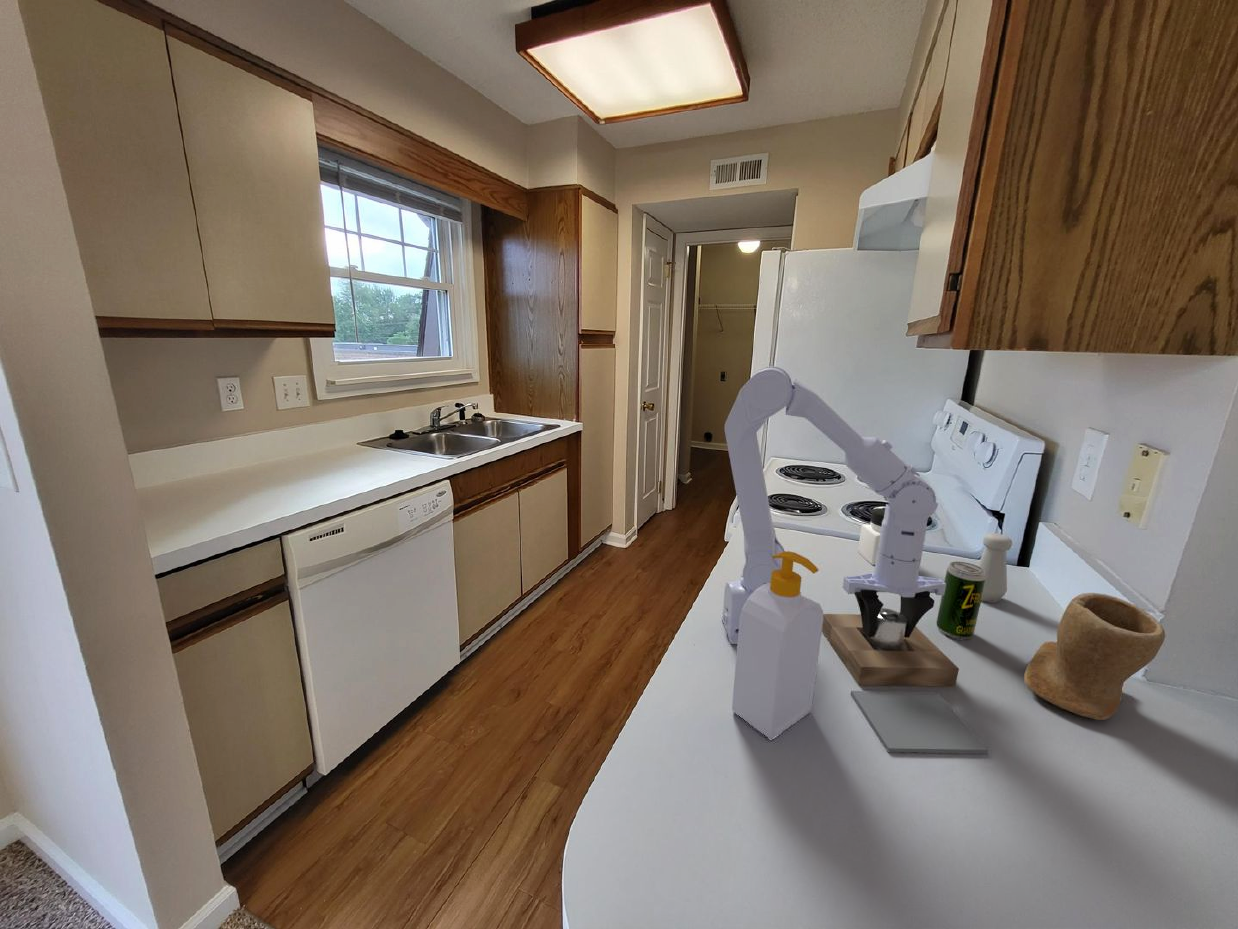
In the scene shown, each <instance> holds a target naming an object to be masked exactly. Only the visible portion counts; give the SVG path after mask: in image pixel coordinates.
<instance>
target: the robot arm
mask: <svg viewBox="0 0 1238 929" xmlns="http://www.w3.org/2000/svg"><path fill="white" fill-rule="evenodd" d="M792 382H793V383H792ZM784 408H785V415H786V416H791V417H798V418H804V419H805V420H807V421H808V422H809V423H811V425H813V426H814V427H815V428H816V429H818V430H819V431H820V432H821V433H822V434H824V436H826V438H828V439H829V440H830V441H831V442H833V443H834V444H835V445H836V446H837V447H838V448H840V450H842V451H843V452H844V465H845V467H847V468H848V469H849V470H850V471H851V472H853V474H854V475H856V476H857V477H858V478H859V479H860V480H862V482H863V483H865V484H866V486H867V487H869V488H870V489H871V490H872V491H873V492H875V494H877V495H878V496H882V497H883V499H884V501H886V502H887V503H886V504H885V507H886V508H885V514H884V519H883V521H882V527H881V533H880V539H879V546H878V552H877V558H876V564H875V565H874V571H873V572H869V573H862V574H857V575H852V576H849V575H848V576H846V575H845V576H844V577H843V582H842V588H843V590H844V592H846V593H847V594H848V595H854V596H855V599H856V601H857V604H858V607H859V608H858V609H859V612H860V615H861V618H862V628H863V631H864V632H865V634H866V635H867V636H868V637H873V636H874V633H875V628H876V622H877V618H878V615H879V613H880V610H881V608H884V605H885V604H884V603H883V602H882V601H881V600H880V599H879V594H878V593H890V594H895V595H898V596H900V606H899V607H900V610H899V613H901V614H902V615H904V616H905V617H906V619H907V624H906V630H905V635H904V637H905V638H909V637H910V635H911V633H912V631H913V629H914V628H915V626H916V627H917V625H918V623H919V621H920V620H921V618H923V616H924V615H925V614H927V612H928V611H930V610H931V609H933V608H934V605H935V600H934V599H933V598H932V597H931V594H935V595H936V596H942V595H944V593H945V588H946V583H944V582H945V581H943V580H942V579H940V578H939V577H931V576H930V577H929V576H928V577H927V576H921V575H919V573H920V567H921V561H922V555H923V550H924V546H925V545H924V544H925V541H926V535H927V524H928V519H929V518H930V517H931V516H933V515H934V513H936V511H937V509H938V506H939V503H938V502H937V496H936V493H935V490H934V489H933V488H932V487H931V485H929V484H928V482H927V481H926V480H925V479H924V478H923V477H921V475H920V473H919V472H918V469H917V468H916V467H915V466H914V465H912V464H909V465H907V463H906V462H904V461H903V460H902V459H901V458H900V457H899V456H898V455H897V454H896V453H895V452H893V451H892V449H893V445H892V444H891V443H890V442H889V441H887V439H883V440H882V441H881V440H880V439H879V438H878V437H877V436H861V435H860V434H859V433H858V432H857V431H856V430H854V428H853V427H851V425H849V423H848V422H846V421H845V420H844V419H843V418H842V417H841V416H840V415H839V414H838V412H836V411H835V410H834V409H833V408H832V407H831V406H830V405H829V404H828V403H827V402H826V401H825V400H824V399H823V398H822V397H821V396H819V395H818V394H817V393H816V392H815V391H814V390H812V389H811V388H809V387H808V386H807V385H805V384H804V383H802V382H801V381H800V380H798V379H796V378H794V377H793V378H792V379H791V377H790V374H788V372H787V371H786V370H784V369H783V368H781V367H778V366H773V365H772V366H765V367H763V368H761V369H760V370H758V371H757V372H756V373H755V374H753V375H752V376H751V377H750V379H748V381H747V382H746V383H744V385H743V386H742V387H741V388H740V389H739V392H738V394H737V396H736V399H735V402H733V405H732V407H731V410H730V412H729V414H728V416H727V419H726V420H725V424H724V434H725V439H726V440H725V441H726V444H727V446H726V447H727V450H728V456H729V460H730V467H731V473H732V478H733V483H734V487H735V492H736V499H737V504H738V509H739V516H740V519H741V520H740V521H741V526H742V530H743V549H744V550H743V551H744V558H745V563H744V565H743V568H742V574H741V575H740V578H739V579H738V580H734V581H729V582H726V583H725V586H724V595H723V607H722V615H721V620H723V621H722V624H723V623H724V624H723V626H724V629H725V632H726V634H728V635H727V638H728V641H729V642H730V644H732V645H737V643H738V631H739V619H740V615H741V612H742V609H743V607H744V605H745V603H746V601H747V599H748V598H749V597H750V596H751V594H752V593H753V592H754V591H755V590H756V589H758V588H759V587H761V586H762V585H764V584H767V583H771V573H772V572H773V571H774V570H781V568H782V559H783V558H775V559H773V557H772V556H774V555H776V554H779V553H781V552H785V551H786V550H785V549H784V547H783V545H782V544H781V542H779V540H778V538H777V534H776V530H775V527H774V523H773V519H772V512H771V508H770V502H769V497H768V491H767V484H766V479H765V474H764V468H763V463H762V456H761V451H760V445H759V440H758V435H757V433H758V431H759V430H760V429H761V428H762V427H763V425H764V424H765V423H766V422H767V420H768V419H769V418H770V417H773V416H774V415H776V414H777V413H779V412H780V411H782V410H783V409H784ZM877 594H878V595H877Z"/></svg>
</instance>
